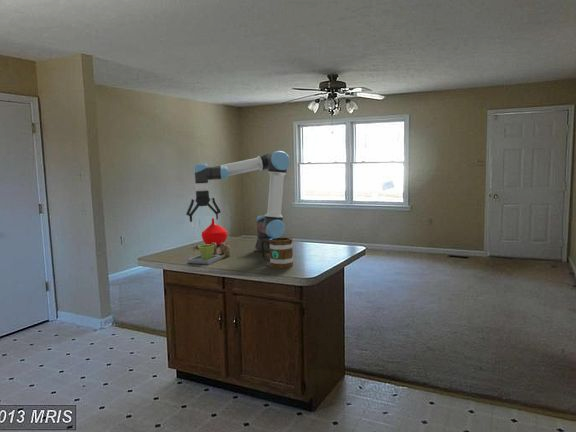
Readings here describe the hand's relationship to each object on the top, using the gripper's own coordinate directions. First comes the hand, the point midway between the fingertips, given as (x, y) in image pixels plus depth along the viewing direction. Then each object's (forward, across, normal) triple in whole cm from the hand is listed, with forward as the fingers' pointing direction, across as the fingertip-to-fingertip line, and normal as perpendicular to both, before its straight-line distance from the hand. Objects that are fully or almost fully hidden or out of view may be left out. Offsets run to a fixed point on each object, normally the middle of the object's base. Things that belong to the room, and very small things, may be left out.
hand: (204, 226), depth 269 cm
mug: (+22, -32, +33) cm, 51 cm away
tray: (+21, +1, +2) cm, 21 cm away
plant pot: (+20, 0, +2) cm, 21 cm away
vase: (+21, -19, -51) cm, 58 cm away
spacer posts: (+21, -9, -10) cm, 25 cm away
